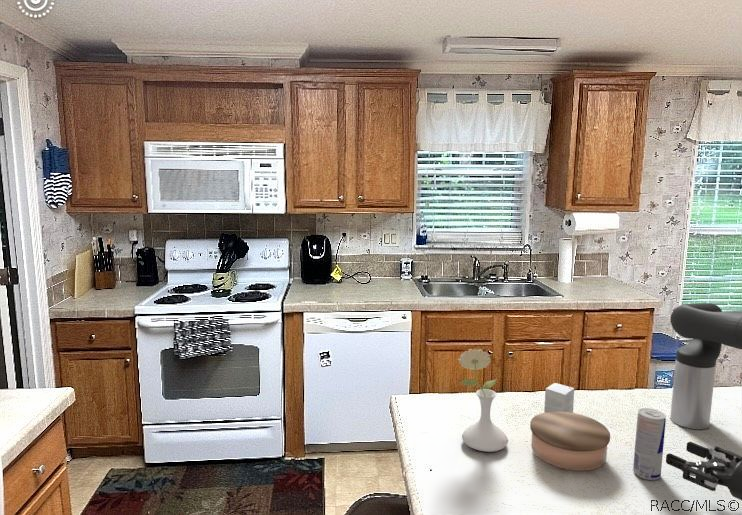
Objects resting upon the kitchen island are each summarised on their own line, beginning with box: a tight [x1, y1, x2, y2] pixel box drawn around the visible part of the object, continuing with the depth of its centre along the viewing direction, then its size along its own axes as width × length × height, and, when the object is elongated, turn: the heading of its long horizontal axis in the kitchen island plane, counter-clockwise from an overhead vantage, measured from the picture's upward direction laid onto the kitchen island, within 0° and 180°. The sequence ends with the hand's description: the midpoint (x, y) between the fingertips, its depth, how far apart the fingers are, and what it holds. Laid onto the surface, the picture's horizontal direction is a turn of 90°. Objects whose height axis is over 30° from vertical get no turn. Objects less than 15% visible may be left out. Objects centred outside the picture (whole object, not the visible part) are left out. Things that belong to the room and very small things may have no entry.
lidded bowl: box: [529, 411, 611, 471], centre depth 128 cm, size 18×18×7 cm
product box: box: [543, 382, 575, 413], centre depth 151 cm, size 6×6×7 cm
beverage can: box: [632, 407, 667, 481], centre depth 119 cm, size 6×6×15 cm
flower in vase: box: [457, 348, 509, 453], centre depth 133 cm, size 13×11×25 cm
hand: (677, 451), depth 114 cm, fingers open, 8 cm apart
